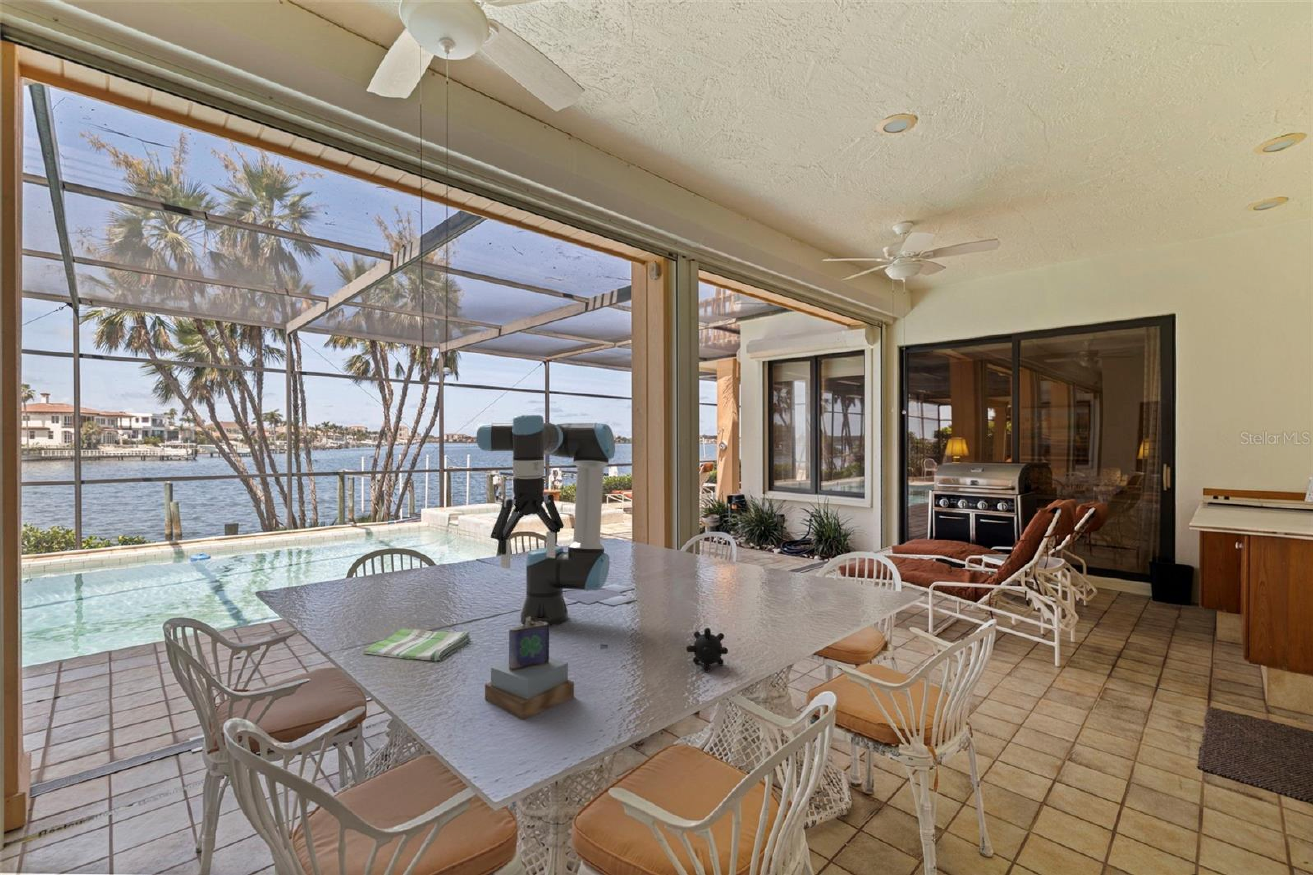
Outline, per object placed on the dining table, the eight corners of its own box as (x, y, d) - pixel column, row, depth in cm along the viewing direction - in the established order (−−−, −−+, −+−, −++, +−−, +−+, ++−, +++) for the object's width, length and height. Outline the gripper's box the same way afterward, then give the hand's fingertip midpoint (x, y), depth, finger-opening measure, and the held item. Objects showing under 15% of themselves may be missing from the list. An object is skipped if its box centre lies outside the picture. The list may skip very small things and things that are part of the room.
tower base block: (535, 682, 137) (535, 665, 137) (573, 699, 128) (573, 682, 128) (484, 702, 127) (485, 684, 127) (522, 722, 117) (522, 703, 117)
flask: (510, 671, 124) (510, 622, 124) (506, 667, 126) (507, 618, 127) (550, 663, 128) (550, 616, 129) (546, 659, 131) (546, 613, 131)
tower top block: (531, 668, 136) (531, 651, 136) (567, 680, 129) (567, 662, 129) (490, 685, 126) (491, 667, 126) (527, 699, 119) (527, 680, 119)
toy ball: (737, 648, 150) (736, 653, 139) (709, 677, 150) (705, 683, 138) (710, 617, 154) (706, 619, 142) (681, 645, 153) (676, 649, 142)
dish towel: (437, 664, 148) (437, 651, 148) (361, 657, 153) (361, 644, 153) (472, 642, 164) (472, 629, 164) (403, 635, 169) (403, 624, 169)
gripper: (493, 481, 128) (493, 574, 129) (576, 474, 147) (577, 555, 147) (475, 479, 133) (476, 569, 134) (558, 473, 152) (558, 551, 152)
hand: (529, 562), depth 141 cm, fingers open, 13 cm apart
